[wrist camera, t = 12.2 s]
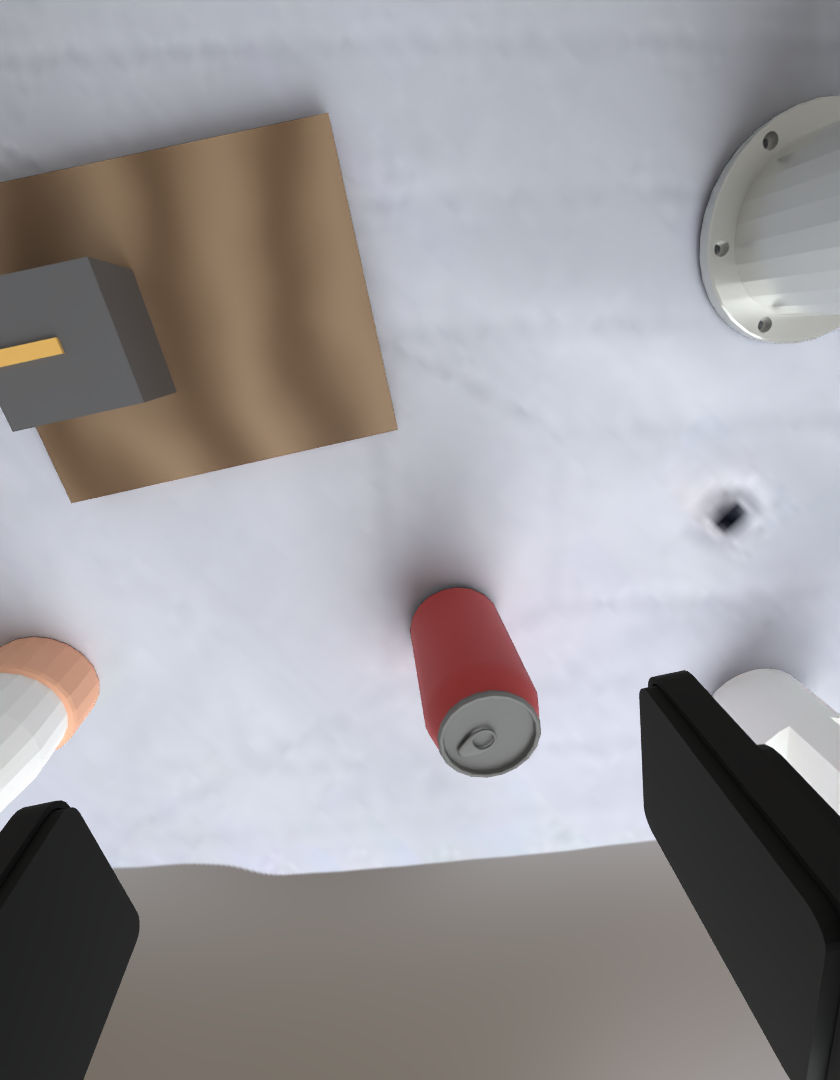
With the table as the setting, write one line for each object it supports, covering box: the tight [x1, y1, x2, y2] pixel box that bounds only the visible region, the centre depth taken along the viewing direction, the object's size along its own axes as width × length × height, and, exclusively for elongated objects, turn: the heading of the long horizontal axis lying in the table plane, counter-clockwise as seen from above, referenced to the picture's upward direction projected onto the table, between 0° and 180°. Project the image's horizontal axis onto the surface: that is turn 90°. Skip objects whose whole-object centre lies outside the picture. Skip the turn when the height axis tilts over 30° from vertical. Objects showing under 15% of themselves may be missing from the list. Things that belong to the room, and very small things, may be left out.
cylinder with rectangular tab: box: [712, 668, 840, 816], centre depth 40 cm, size 9×9×12 cm
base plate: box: [0, 113, 398, 503], centre depth 30 cm, size 20×16×2 cm
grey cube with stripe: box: [0, 257, 177, 432], centre depth 27 cm, size 6×6×5 cm
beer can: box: [410, 587, 541, 777], centre depth 34 cm, size 7×7×12 cm
